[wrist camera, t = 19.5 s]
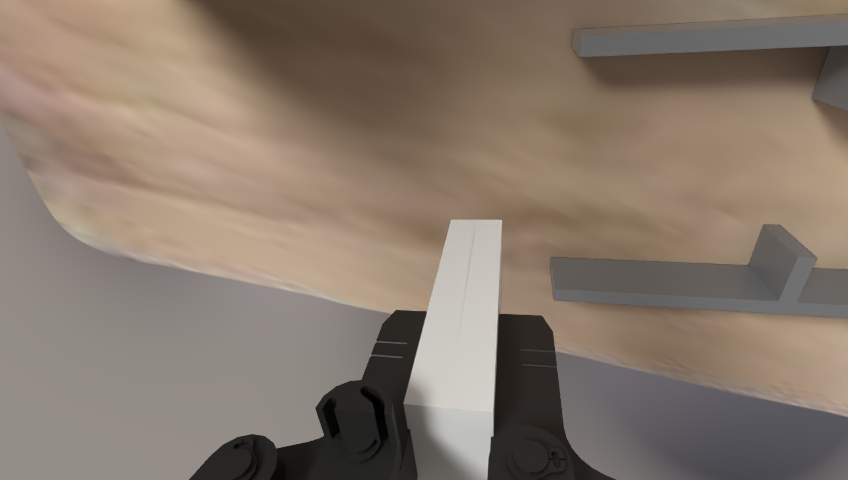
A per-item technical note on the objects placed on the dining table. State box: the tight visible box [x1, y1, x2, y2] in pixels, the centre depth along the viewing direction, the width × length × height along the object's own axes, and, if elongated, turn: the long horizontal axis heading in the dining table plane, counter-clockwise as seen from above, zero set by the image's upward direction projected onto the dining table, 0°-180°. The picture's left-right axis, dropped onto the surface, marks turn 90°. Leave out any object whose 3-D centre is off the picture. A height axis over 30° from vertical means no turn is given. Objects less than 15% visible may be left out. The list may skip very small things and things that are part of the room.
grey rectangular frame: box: [550, 14, 848, 318], centre depth 30 cm, size 20×34×5 cm, turn 94°
